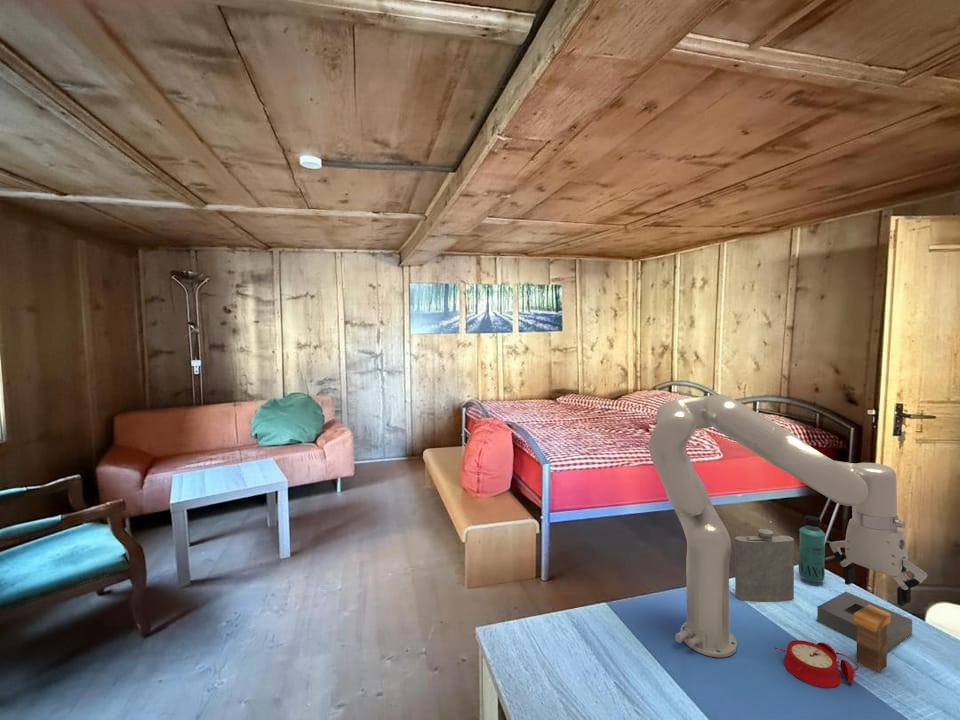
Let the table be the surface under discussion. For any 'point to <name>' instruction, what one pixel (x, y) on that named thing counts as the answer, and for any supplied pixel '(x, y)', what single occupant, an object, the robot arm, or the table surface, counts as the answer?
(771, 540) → the hip flask
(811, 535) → the beverage bottle
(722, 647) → the robot arm
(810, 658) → the alarm clock
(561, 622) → the table surface
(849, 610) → the collar
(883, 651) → the wooden peg block
